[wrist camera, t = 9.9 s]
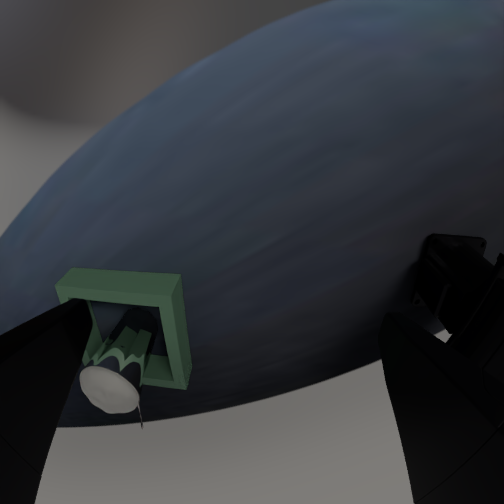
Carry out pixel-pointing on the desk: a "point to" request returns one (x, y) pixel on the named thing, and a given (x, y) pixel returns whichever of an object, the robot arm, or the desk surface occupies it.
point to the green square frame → (138, 293)
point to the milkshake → (121, 364)
